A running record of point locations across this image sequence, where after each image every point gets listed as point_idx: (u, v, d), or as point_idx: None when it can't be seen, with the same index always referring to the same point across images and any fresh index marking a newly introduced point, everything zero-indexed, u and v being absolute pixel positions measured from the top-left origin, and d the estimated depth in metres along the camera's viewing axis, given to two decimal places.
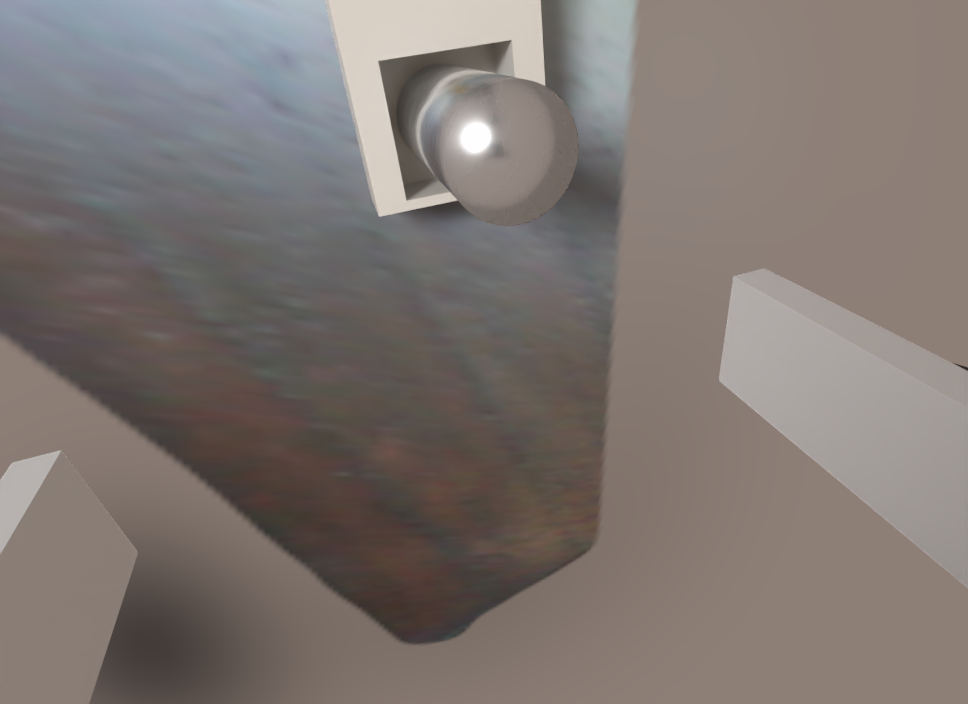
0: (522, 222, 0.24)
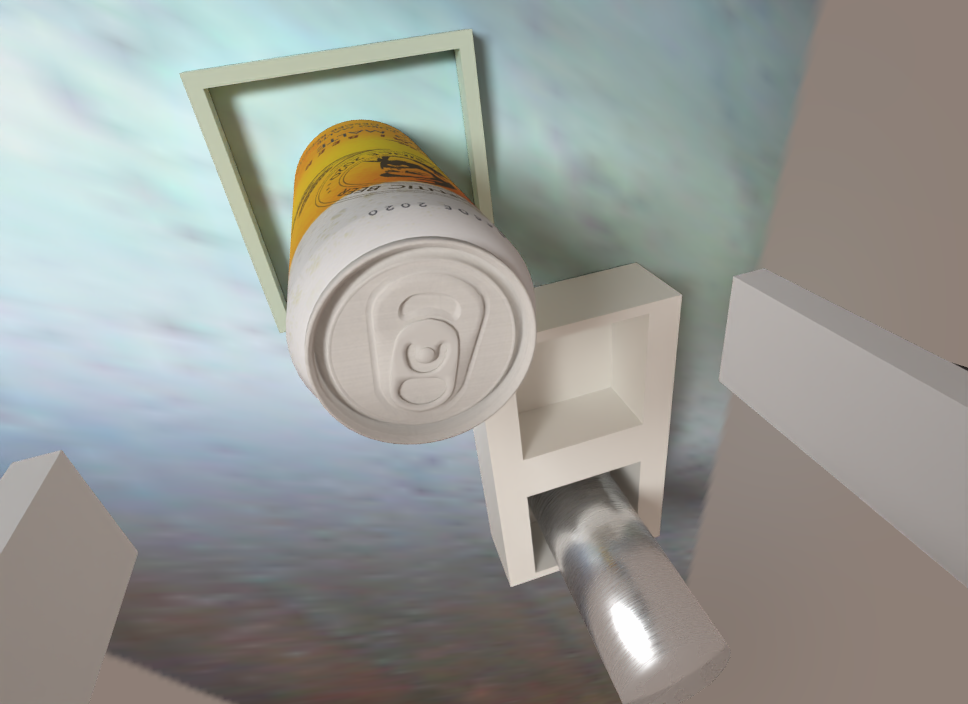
0: (674, 702, 0.27)
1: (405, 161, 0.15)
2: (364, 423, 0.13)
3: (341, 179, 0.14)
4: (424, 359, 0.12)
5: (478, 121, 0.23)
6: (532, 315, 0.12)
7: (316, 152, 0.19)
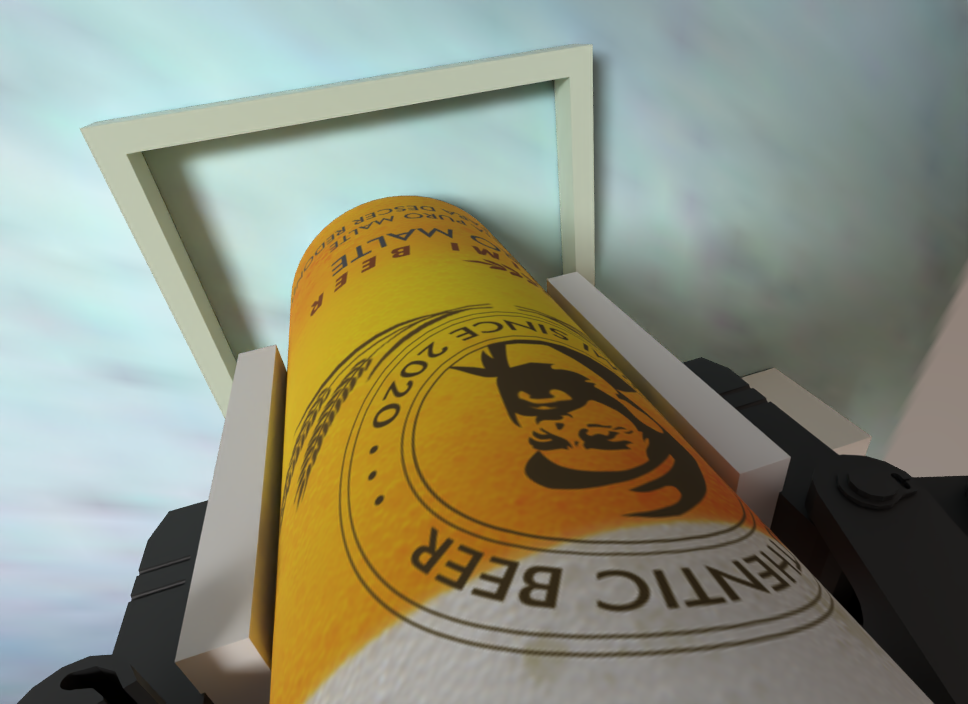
0: None
1: (546, 362, 0.07)
2: None
3: (407, 448, 0.06)
4: None
5: (588, 191, 0.14)
6: None
7: (330, 274, 0.10)
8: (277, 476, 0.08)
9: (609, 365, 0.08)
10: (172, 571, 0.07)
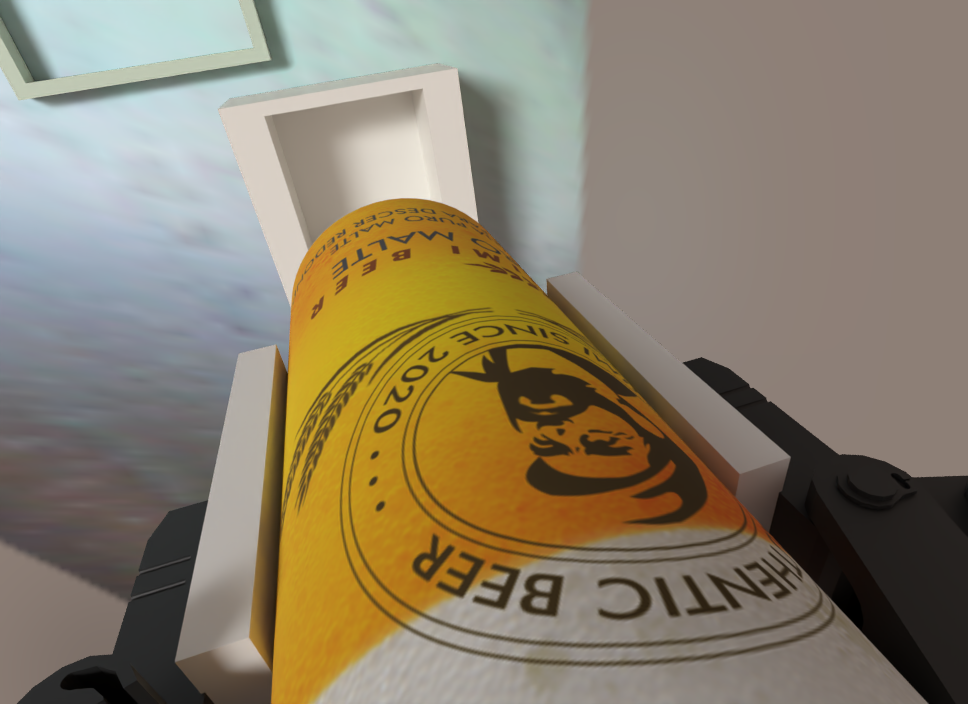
0: None
1: (547, 367, 0.07)
2: None
3: (408, 454, 0.06)
4: None
5: None
6: None
7: (331, 277, 0.10)
8: (277, 476, 0.08)
9: (610, 369, 0.08)
10: (172, 571, 0.07)
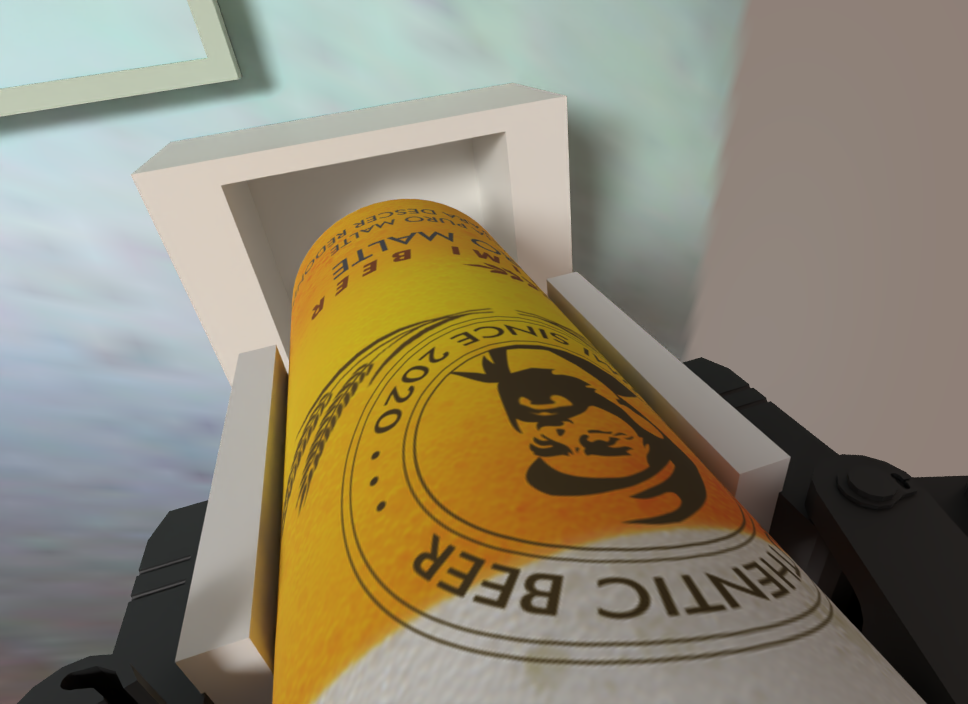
0: None
1: (547, 367, 0.07)
2: None
3: (409, 454, 0.06)
4: None
5: None
6: None
7: (331, 278, 0.10)
8: (277, 476, 0.08)
9: (609, 370, 0.08)
10: (172, 571, 0.07)
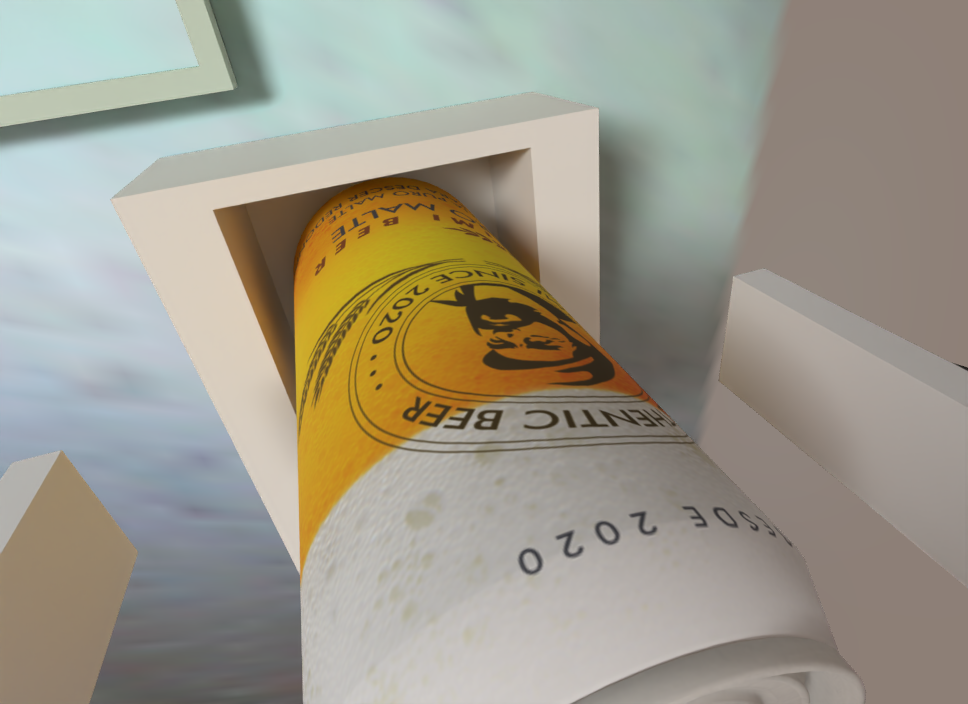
0: None
1: (504, 298, 0.09)
2: None
3: (398, 353, 0.07)
4: None
5: None
6: None
7: (331, 242, 0.12)
8: None
9: (557, 305, 0.10)
10: None
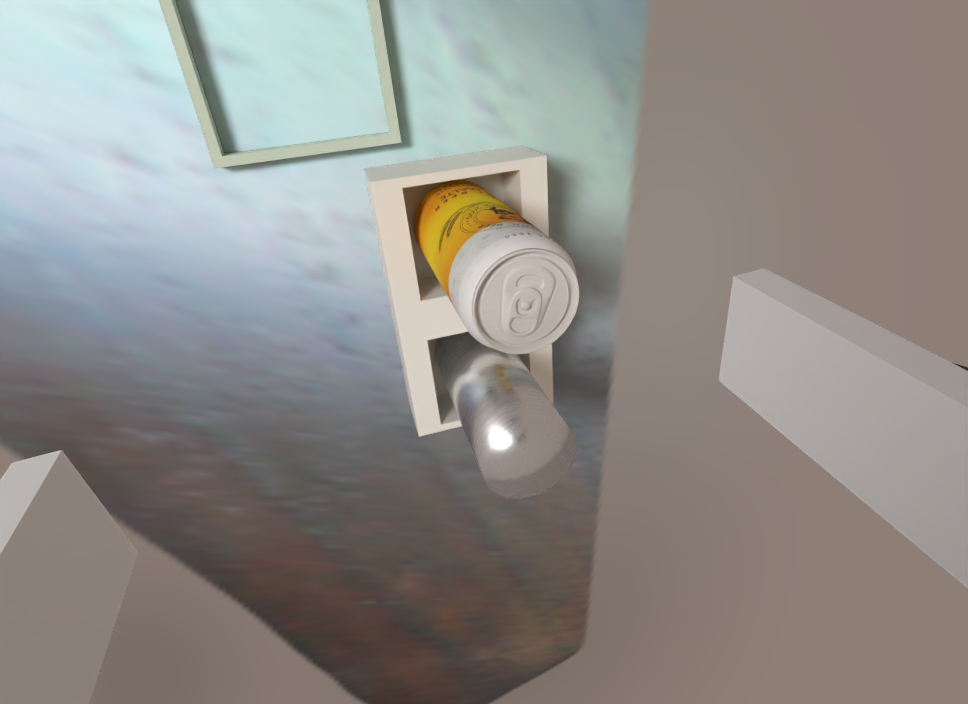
0: (534, 494, 0.32)
1: (505, 210, 0.29)
2: (491, 340, 0.25)
3: (475, 219, 0.27)
4: (525, 308, 0.25)
5: None
6: (578, 288, 0.25)
7: (440, 200, 0.32)
8: None
9: (522, 217, 0.30)
10: None
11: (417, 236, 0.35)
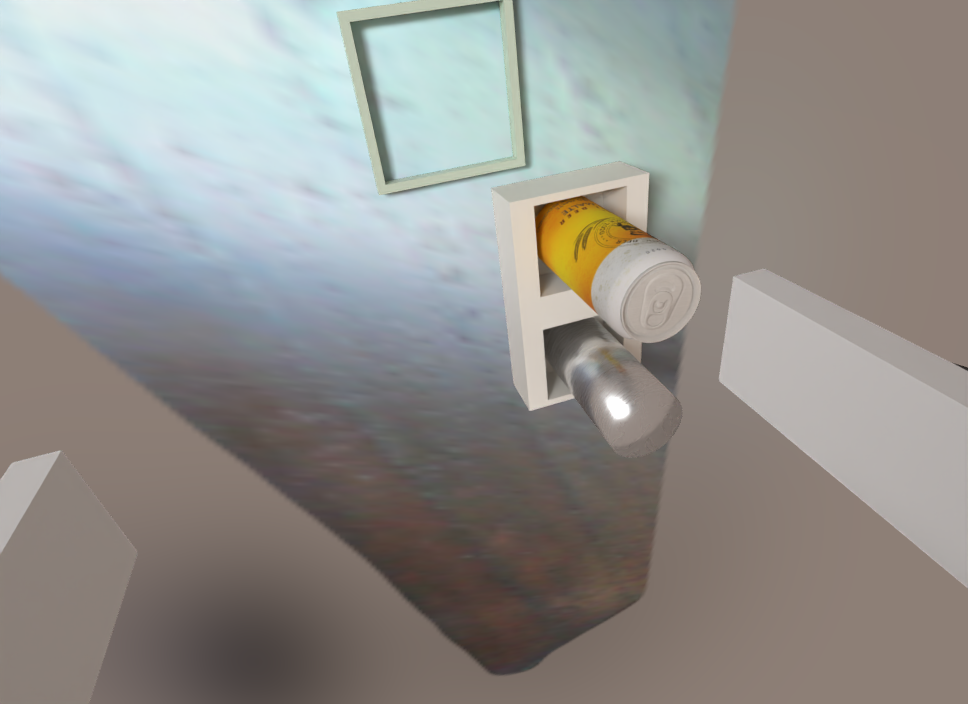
0: (645, 453, 0.40)
1: (628, 225, 0.35)
2: (631, 333, 0.33)
3: (609, 235, 0.34)
4: (660, 307, 0.32)
5: (513, 49, 0.36)
6: (700, 290, 0.32)
7: (563, 215, 0.39)
8: None
9: None
10: None
11: (537, 243, 0.42)
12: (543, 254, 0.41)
